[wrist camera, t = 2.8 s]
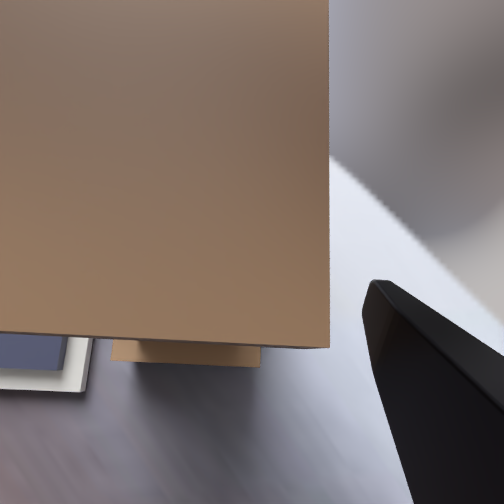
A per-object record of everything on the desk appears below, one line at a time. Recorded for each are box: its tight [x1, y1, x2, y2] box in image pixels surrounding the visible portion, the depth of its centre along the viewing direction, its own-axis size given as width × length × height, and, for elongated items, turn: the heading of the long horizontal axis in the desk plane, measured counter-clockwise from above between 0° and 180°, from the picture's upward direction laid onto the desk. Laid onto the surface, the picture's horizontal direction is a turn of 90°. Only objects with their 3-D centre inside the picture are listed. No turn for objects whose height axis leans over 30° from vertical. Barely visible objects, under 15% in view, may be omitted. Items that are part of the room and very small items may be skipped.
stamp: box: [0, 0, 330, 368], centre depth 10 cm, size 5×5×14 cm
